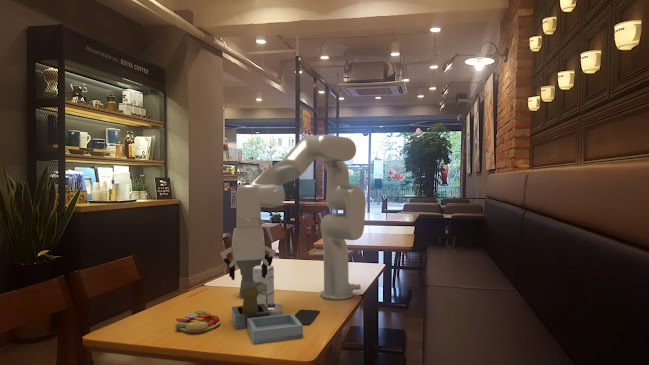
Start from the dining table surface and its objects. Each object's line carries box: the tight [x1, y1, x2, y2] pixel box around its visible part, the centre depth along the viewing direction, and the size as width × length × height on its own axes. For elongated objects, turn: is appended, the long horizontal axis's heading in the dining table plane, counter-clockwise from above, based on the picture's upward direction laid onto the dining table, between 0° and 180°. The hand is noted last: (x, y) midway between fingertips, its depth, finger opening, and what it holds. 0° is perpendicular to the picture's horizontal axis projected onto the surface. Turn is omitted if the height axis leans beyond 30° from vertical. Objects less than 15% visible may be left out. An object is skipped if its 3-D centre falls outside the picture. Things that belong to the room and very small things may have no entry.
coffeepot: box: [235, 254, 273, 300], centre depth 171 cm, size 15×9×18 cm, turn 113°
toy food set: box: [175, 310, 221, 334], centre depth 136 cm, size 13×13×3 cm
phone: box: [294, 309, 321, 327], centre depth 143 cm, size 7×1×15 cm
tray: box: [246, 313, 304, 345], centre depth 128 cm, size 14×12×4 cm
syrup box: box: [253, 264, 275, 305], centre depth 155 cm, size 6×6×14 cm
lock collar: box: [231, 302, 283, 330], centre depth 142 cm, size 17×15×4 cm
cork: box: [242, 287, 259, 314], centre depth 139 cm, size 6×6×11 cm
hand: (248, 278), depth 139 cm, fingers open, 9 cm apart
